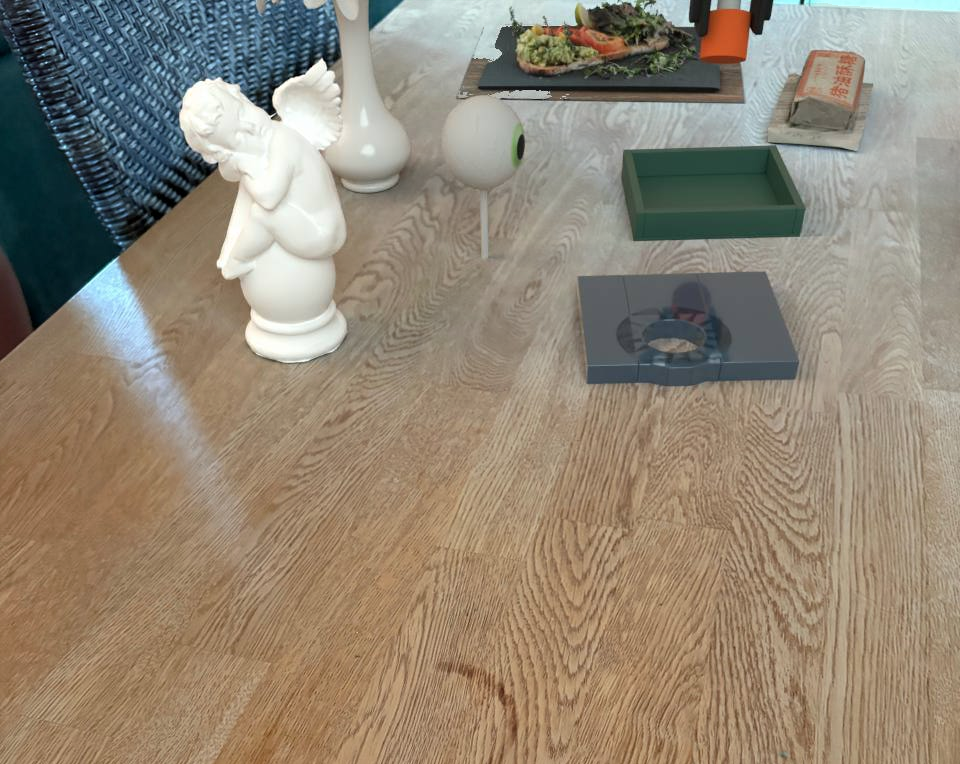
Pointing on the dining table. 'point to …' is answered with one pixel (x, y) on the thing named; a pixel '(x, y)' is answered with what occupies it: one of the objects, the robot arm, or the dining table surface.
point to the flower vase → (361, 109)
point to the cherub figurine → (278, 207)
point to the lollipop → (483, 148)
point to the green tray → (710, 193)
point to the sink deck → (683, 328)
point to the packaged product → (823, 102)
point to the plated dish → (605, 60)
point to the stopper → (726, 34)
